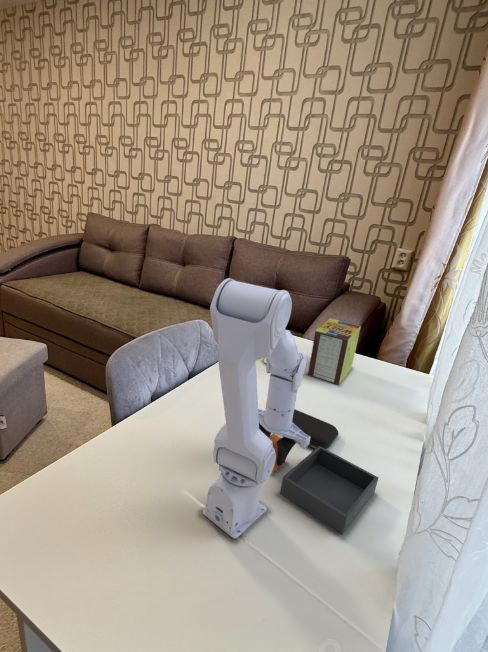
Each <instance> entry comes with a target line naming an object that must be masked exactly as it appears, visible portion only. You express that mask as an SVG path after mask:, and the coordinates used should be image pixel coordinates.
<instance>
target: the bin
mask: <svg viewBox="0 0 488 652" xmlns="http://www.w3.org/2000/svg"><path fill="white" fill-rule="evenodd" d="M378 481H379V476H377V475H375V474H373V473H371V472H370V471H367V470H365V469H364V468H362V467H361V466H358V465H356V464H355V463H353V462H351V461H349V460H347V459H345V458H344V457H341V456H339V455H337V454H336V453H334V452H332V451H330V450H328V449H324V448H322V447H321V446H318V447H317V448H316V449H315V448H314V450H313V451H311V453H309V454H308V455H307V456H306V457H304V458H303V459H302V460H301V461H300V462H298V463H297V465H295V466H294V467H293V468H291V470H290V471H289V472H287V473H286V474H285V475H284V476H283V477H282V480H281V486H280V493H279V494H280V495H281V496H283V497H284V498H286V499H287V500H289V501H291V502H292V503H294V504H295V505H297V506H298V507H300V508H301V509H303V510H304V511H306V512H307V513H309V514H310V515H312V516H313V517H315V518H316V519H318V520H319V521H321V522H322V523H324V524H325V525H327V526H328V527H330V528H331V529H333V530H334V531H336V532H337V533H339V534H340V535H344V533H345V532H346V531H347V529H348V528H349V527H350V526H351V525H352V523H353V522H354V520H356V518H357V516H358V515H359V514H360V513H361V511H363V509H364V508H365V506H366V505H367V504H368V502H369V501H370V500H371V498H372V497H373V495H374V494H375V491H376V488H377V485H378Z"/></svg>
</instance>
